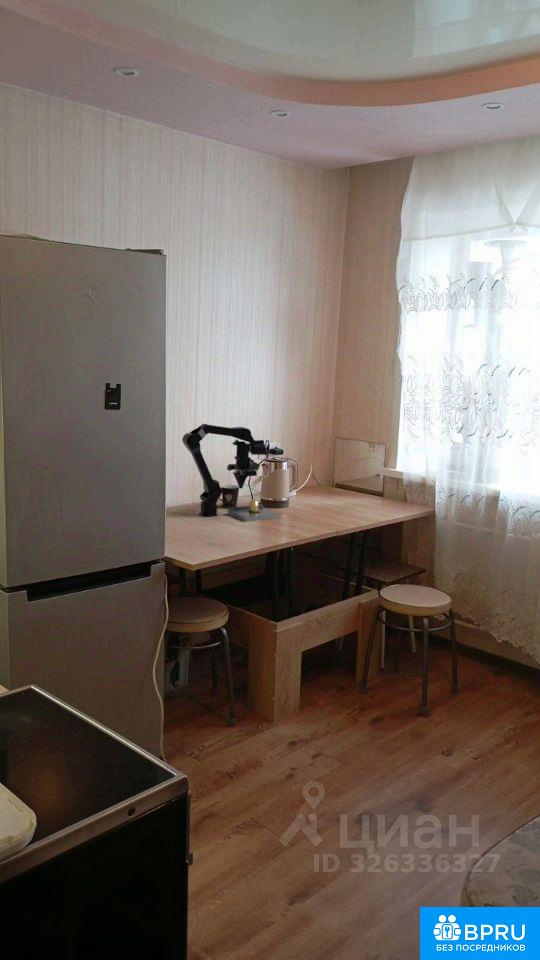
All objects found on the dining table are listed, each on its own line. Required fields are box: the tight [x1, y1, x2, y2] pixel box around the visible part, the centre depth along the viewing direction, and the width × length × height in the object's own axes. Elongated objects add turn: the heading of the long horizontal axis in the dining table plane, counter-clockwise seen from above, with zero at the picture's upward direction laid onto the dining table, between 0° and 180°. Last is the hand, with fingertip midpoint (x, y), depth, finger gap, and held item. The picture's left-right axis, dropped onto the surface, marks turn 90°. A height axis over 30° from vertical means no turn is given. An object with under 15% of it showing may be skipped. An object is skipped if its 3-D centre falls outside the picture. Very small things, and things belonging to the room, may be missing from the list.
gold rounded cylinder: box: [249, 499, 259, 513], centre depth 356 cm, size 4×4×7 cm
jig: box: [227, 504, 281, 523], centre depth 356 cm, size 18×16×3 cm
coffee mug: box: [218, 484, 240, 509], centre depth 374 cm, size 12×9×10 cm
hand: (240, 488), depth 359 cm, fingers closed
